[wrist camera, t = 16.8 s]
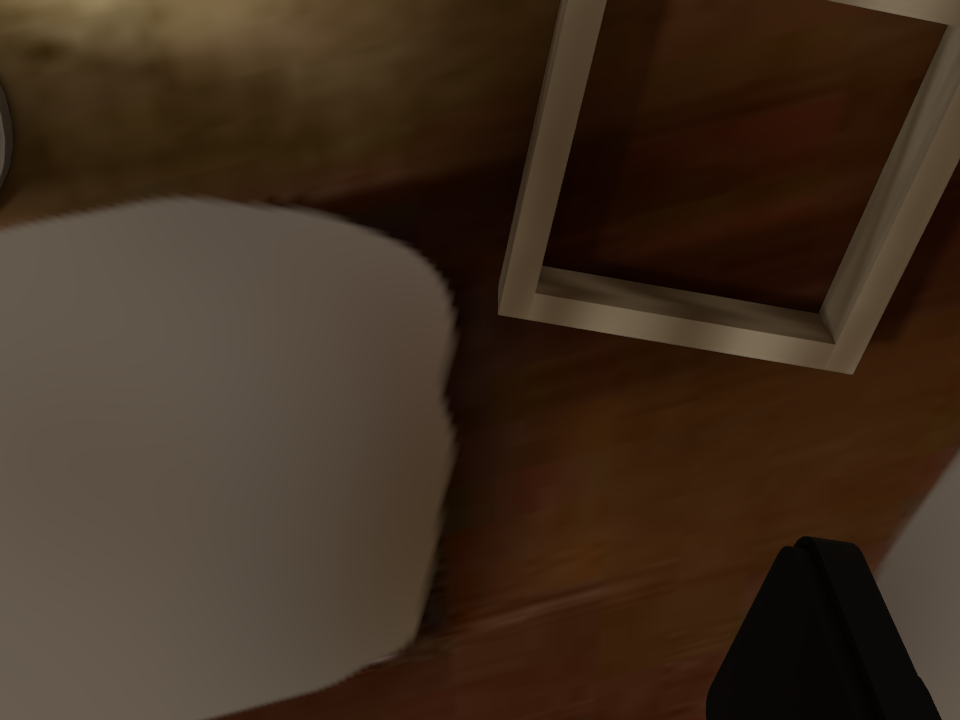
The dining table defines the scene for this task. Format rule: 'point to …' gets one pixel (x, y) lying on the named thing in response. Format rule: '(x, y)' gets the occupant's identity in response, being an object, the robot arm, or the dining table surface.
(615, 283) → the frame
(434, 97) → the dining table surface
